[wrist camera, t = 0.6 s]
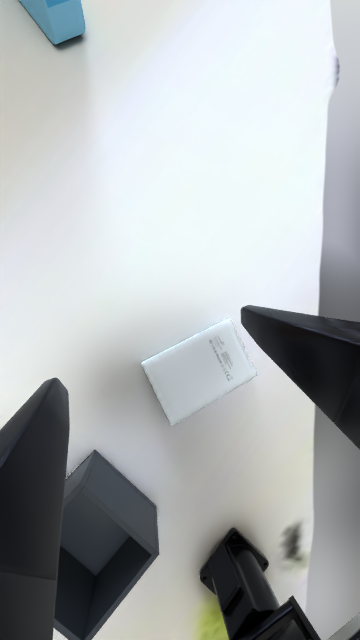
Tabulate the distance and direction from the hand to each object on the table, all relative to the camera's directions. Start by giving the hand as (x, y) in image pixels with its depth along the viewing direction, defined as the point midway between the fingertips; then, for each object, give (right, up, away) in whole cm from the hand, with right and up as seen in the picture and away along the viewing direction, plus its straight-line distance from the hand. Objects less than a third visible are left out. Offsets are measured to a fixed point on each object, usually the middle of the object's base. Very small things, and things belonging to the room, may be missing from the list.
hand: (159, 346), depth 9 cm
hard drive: (+3, -5, +16) cm, 17 cm away
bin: (-8, -20, +12) cm, 25 cm away
